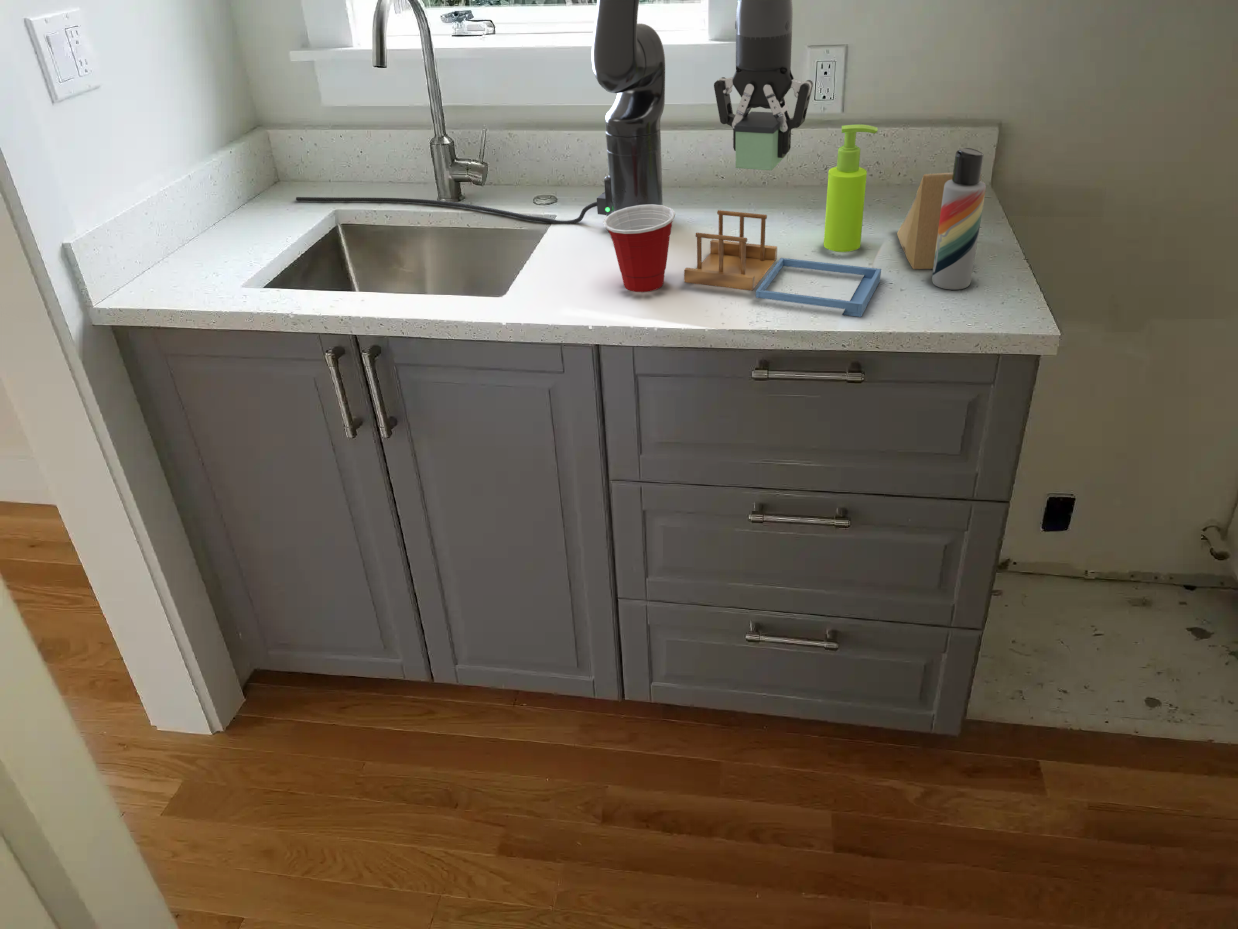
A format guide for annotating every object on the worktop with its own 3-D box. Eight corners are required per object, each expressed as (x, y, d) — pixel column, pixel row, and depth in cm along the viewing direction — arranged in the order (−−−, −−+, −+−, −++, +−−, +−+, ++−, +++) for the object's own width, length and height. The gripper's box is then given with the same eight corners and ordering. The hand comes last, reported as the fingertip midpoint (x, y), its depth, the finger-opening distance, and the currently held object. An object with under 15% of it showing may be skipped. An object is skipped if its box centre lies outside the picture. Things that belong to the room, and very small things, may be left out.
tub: (734, 168, 140) (734, 125, 136) (750, 152, 145) (751, 111, 142) (772, 171, 137) (773, 127, 134) (787, 154, 143) (789, 112, 140)
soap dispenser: (866, 257, 157) (878, 131, 146) (822, 256, 158) (831, 131, 147) (866, 244, 162) (877, 120, 150) (823, 243, 163) (831, 120, 152)
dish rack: (684, 287, 151) (683, 234, 146) (712, 256, 161) (712, 206, 156) (752, 296, 147) (753, 242, 142) (776, 264, 157) (778, 212, 152)
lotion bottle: (926, 276, 150) (943, 145, 138) (962, 273, 150) (982, 142, 139) (939, 291, 145) (958, 157, 134) (976, 288, 145) (998, 153, 134)
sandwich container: (947, 231, 164) (960, 141, 156) (968, 268, 152) (983, 172, 143) (895, 233, 165) (905, 143, 156) (911, 269, 152) (923, 174, 144)
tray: (755, 303, 145) (755, 290, 144) (780, 269, 155) (780, 257, 154) (861, 317, 140) (862, 304, 138) (879, 280, 149) (881, 268, 148)
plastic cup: (608, 276, 156) (604, 203, 150) (676, 274, 156) (674, 200, 149) (606, 305, 147) (601, 229, 141) (677, 302, 147) (676, 226, 140)
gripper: (823, 24, 132) (817, 150, 141) (722, 23, 137) (722, 144, 146) (808, 35, 126) (803, 166, 135) (704, 33, 131) (705, 159, 141)
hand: (761, 154), depth 141 cm, fingers closed on tub, 5 cm apart
